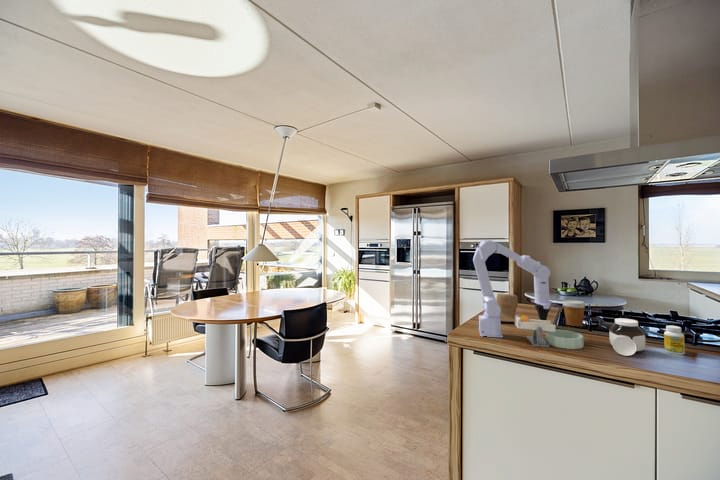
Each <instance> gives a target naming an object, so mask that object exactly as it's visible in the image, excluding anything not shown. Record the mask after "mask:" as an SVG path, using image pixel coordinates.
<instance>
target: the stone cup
mask: <svg viewBox="0 0 720 480" xmlns="http://www.w3.org/2000/svg"><path fill="white" fill-rule="evenodd" d="M495 299H496V301H497V304H498V305H499V306H500V308H501V313H500V322H501V323H515V315H517V312H516V311H517V308H518V305H519V304H518V303H519V298H518V295H516V294H511V293H497V294H496V297H495Z"/></svg>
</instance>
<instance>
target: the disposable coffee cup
mask: <svg viewBox="0 0 720 480" xmlns="http://www.w3.org/2000/svg"><path fill="white" fill-rule="evenodd" d="M562 301H563V302H562V304H561V305H562V307H563V312H564V316H565V321H566V326H567V325H571V326H582V327H583V324H584V314H585V307H586V304H585V301H582V300H576V299H566V300H564V299H563V300H562Z"/></svg>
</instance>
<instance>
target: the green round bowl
mask: <svg viewBox="0 0 720 480" xmlns="http://www.w3.org/2000/svg"><path fill="white" fill-rule="evenodd" d="M545 341H546V342H547V343H548V344H549V345H550V346H553V347H555V348H559V349H560V348H561V349H565V348H566V349H567V350H577V349H578V350H579V349H582V348H583V347H584V346H585V345H584V344H585V343H584V342H585V341H584V336H583V334H582V333H579V332H576V331H573V330H567V329H555V332H551V331H545ZM566 349H565V350H566Z"/></svg>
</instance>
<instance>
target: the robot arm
mask: <svg viewBox="0 0 720 480" xmlns="http://www.w3.org/2000/svg"><path fill="white" fill-rule="evenodd" d="M493 254H501V255H503V256H505V257H506V258H509V259H511V260H512V261H514V262H516V265H517V266H518V267H519V268H521V269H523V270H525V271H526V272H528V273H531V274H532V276H533V289H534V300H533V301H534V302H533V303H535V304H534V308H535V309H536V312H537V315H538V320H546V321H548V320H547V319H548V315H549V312H550V310H551V309H552V308H551V307H550V305H551V304H553V300H550V283H549V282H550V281H549V277H550V275H551V271H550V268H549V267H548V266H547V265H543V264H541V262H540V261H537V260H535V259H533V258H531V257H532V256H530V255H525V254H524V255H519V254H518V253H517V252H515V251H513V250H511V249H509V247H506V246H505V245H503V244H501V243H498V242H495V241H493V240H490V239H488V240H487V239H484V240H480V242H479V243H478V244H477V246H476V249H475V252H474V255H473V258H472V262H473V265H474V269H475V272H476V276H477V279H478V284H479V287H480V291H481V294H482V308H483V311H484V312H483V314H482V315H478V331H479V335H480V337H483V336H487V337H488V338H501V339H502V338H504V336H503V333H502V330H501V329H502V327H501V326H502V325H501V323H502V322H500V313H501V308H500V306H499V305H498V304H497V301H496V297H495V295H494V292H493V291H494V290H493V287H492V284H491V279H490V276H489V273H488V269H487V265H486V261H487V259H488V258H489V257H490V256H492V255H493ZM487 337H486V338H487Z"/></svg>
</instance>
